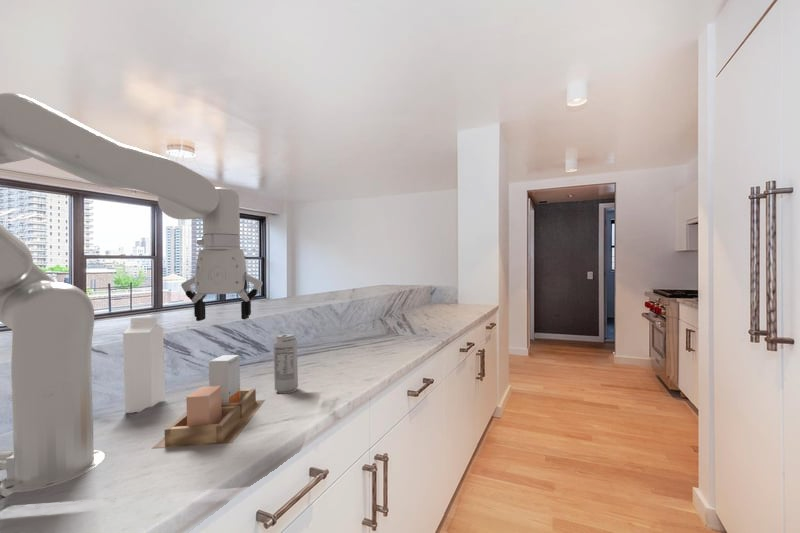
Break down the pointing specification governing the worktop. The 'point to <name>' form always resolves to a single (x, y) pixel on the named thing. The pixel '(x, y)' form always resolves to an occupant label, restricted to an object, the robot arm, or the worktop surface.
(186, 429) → the socket board
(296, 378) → the energy drink can
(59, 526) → the worktop surface
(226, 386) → the skincare box
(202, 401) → the terracotta block
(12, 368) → the robot arm
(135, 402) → the milk
